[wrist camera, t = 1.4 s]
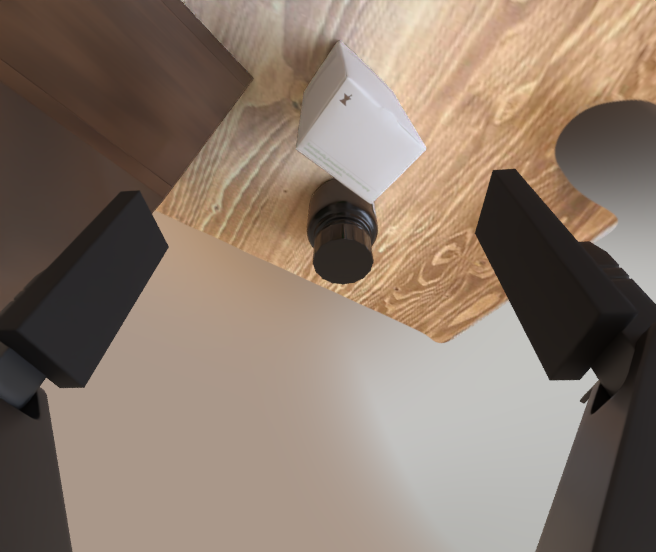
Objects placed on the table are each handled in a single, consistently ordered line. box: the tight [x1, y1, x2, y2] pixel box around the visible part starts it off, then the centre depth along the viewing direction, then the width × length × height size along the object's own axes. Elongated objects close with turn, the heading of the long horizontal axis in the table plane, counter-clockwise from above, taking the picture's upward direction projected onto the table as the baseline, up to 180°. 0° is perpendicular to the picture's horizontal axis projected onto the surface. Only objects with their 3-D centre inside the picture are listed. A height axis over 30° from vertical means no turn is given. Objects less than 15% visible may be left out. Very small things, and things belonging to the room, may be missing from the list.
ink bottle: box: [307, 179, 378, 284], centre depth 41 cm, size 10×9×12 cm
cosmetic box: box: [296, 40, 426, 204], centre depth 30 cm, size 8×7×16 cm
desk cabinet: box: [0, 0, 253, 312], centre depth 27 cm, size 13×18×25 cm
